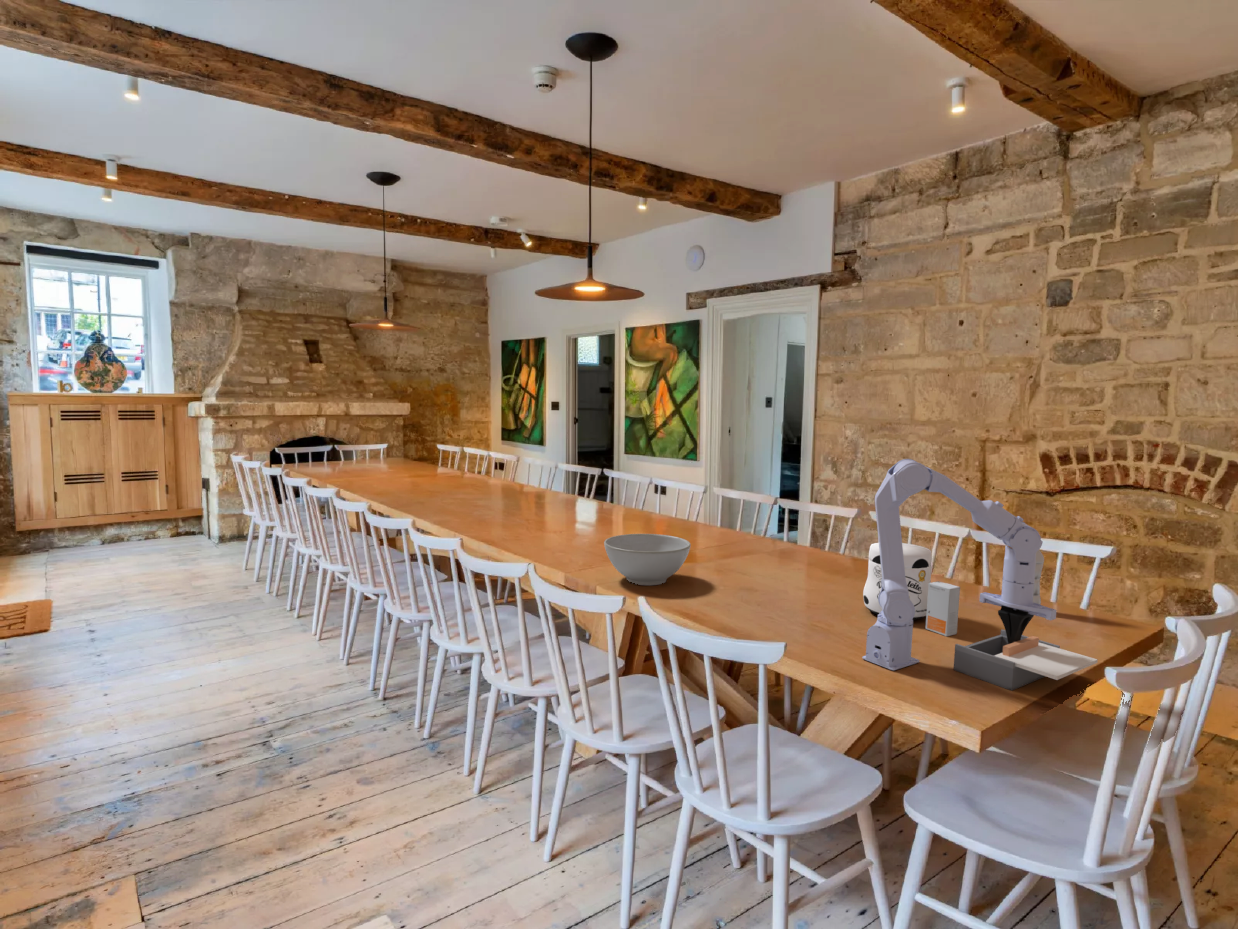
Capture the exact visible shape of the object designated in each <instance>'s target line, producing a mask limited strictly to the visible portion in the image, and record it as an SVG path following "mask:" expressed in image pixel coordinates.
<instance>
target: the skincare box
mask: <svg viewBox="0 0 1238 929" xmlns="http://www.w3.org/2000/svg"><path fill="white" fill-rule="evenodd" d="M960 593H961V587H960V586H958V585H954V584H951V583H947V582H943V581H940V580H939V581H933V582H931V583H929V586H928V600H927V614H926V617H925V630H928V631H931V632H933V633H936V634H939V635H941V636H944V637H950V636H954V635H957V633H958V622H959V619H958V618H959V606H960Z"/></svg>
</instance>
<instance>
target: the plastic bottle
mask: <svg viewBox="0 0 1238 929" xmlns="http://www.w3.org/2000/svg"><path fill="white" fill-rule="evenodd" d="M1044 563H1045V557H1044V554H1043V553H1042V551H1041V550H1040V549H1039V550H1038V551H1037V552H1036V567H1035V580H1034V593H1033V602H1034V603H1037V604H1040V605H1042V604H1041V603H1042V601H1041V600H1042V599H1041V576H1042V571H1043V568H1044Z"/></svg>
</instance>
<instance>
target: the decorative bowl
mask: <svg viewBox="0 0 1238 929" xmlns="http://www.w3.org/2000/svg"><path fill="white" fill-rule="evenodd" d="M603 544H604V550H605V553H606V555H607V557H608V559H609V561H610V562H611V565H613V567H614V568H615V569H616V571H617V572H618V573H620V574H621V575H622V576H623V577H625V578H626V581H627V580H628V581H629V583H630V582H632V583H631V584H633V583H635V584H634V585H637V584H638V586H639V585H640V586H658V585H662V583H663V584H664V583H666V582H667V579H668V578H669V577H672V576H673V575H674V574H676V573H677V572H678V571H679V570H680V568H681V567H682V566H683V565H684V563H685V561H686V559H687V558H688V555H689V552H690V551H691V542H690V541H689V540H687V539H685V538H683V537H682V538H681V537H678V536H672V535H669V534H659V533H658V534H657V533H628V534H620V535H614V536H611V537H608V538H606V539H605V540H604V542H603ZM628 581H627V582H628Z"/></svg>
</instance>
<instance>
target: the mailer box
mask: <svg viewBox="0 0 1238 929" xmlns="http://www.w3.org/2000/svg"><path fill="white" fill-rule="evenodd" d="M1028 637H1029V636H1026V635H1023V634H1022V636H1021V639H1020V640H1022V639H1025V638H1028ZM1039 643H1043V644H1046V645H1050V646H1053V647H1056V648H1060V649H1061V646H1060V645H1058V644H1054V643H1051V642H1048V641H1044V640H1042V639H1039ZM1005 645H1008V640H1007V635H1006V631H1005V629H1001V630H1000V634H999V635H996V636H992V637H989V638H986V639H983V640H980V641H976V642H973V643H971V644H967V645H961V644H959V643H955V644H954V656H953V657H954V658H953V671H955V672H959V673H961V674H964V675H967V676H970V677H972V678H975V679H978V680H980V681H983V682H986V683H989V684H992V685H994V686H998V687H1000V688H1002V689H1005V690H1009V691H1010V692H1011V691H1012V692H1013V691H1014V690H1016V689H1019V688H1021V687H1023V686H1026V685H1030V684H1031V683H1033V682H1036V681H1038V680H1040V679H1042V678H1045V677H1046V676H1043V675H1040V674H1037V673H1034V672H1031V671H1028V670H1025V669H1022V668H1019V667H1016V666H1015V662H1012V661H1009V660H1006V659H1003V658H1000V657H996V656H994V655H997V654H1000V653H1003V646H1005Z"/></svg>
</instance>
